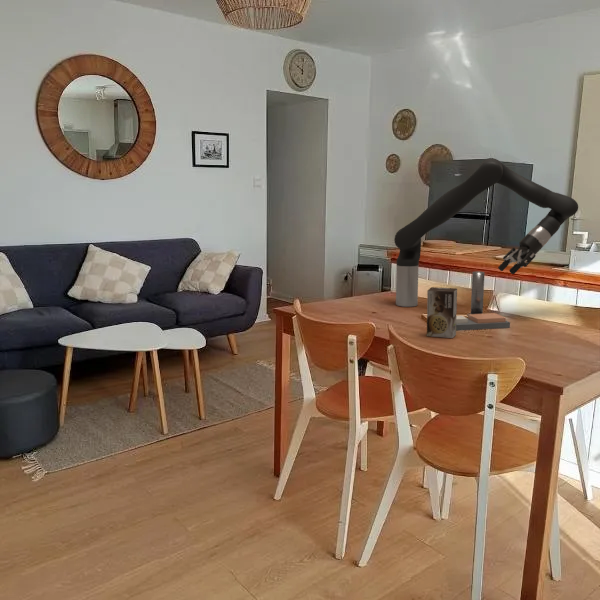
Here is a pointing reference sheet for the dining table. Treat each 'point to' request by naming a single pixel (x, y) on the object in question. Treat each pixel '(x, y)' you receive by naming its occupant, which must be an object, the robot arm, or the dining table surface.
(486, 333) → the dining table surface
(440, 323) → the coffee box
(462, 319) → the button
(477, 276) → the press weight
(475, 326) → the button board
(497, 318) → the button
